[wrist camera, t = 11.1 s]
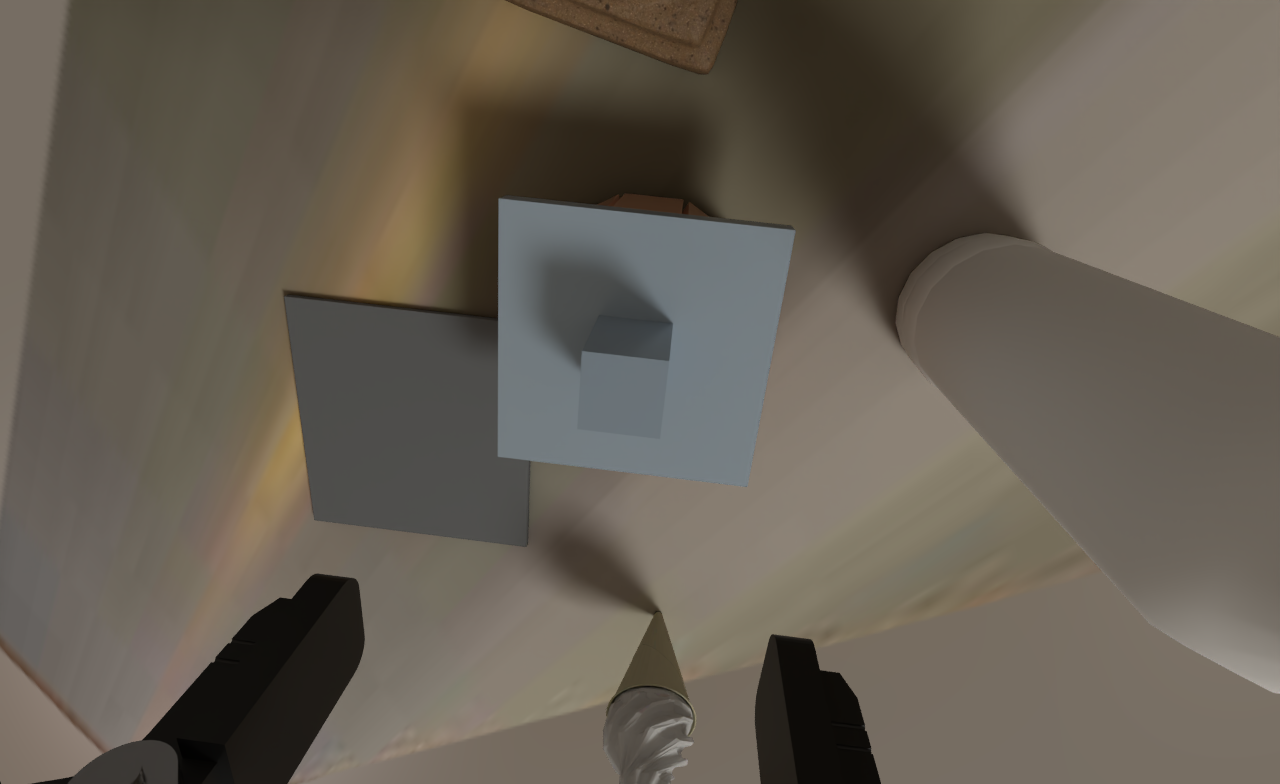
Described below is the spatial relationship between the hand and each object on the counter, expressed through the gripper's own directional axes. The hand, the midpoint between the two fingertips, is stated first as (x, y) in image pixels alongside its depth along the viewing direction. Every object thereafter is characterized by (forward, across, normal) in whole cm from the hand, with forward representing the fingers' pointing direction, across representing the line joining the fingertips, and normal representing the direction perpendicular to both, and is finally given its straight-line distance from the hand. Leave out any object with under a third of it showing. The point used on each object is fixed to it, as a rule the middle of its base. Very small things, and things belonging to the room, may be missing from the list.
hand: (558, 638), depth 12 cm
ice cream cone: (+24, -3, +22) cm, 33 cm away
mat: (+24, +13, +10) cm, 29 cm away
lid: (+18, 0, 0) cm, 18 cm away
